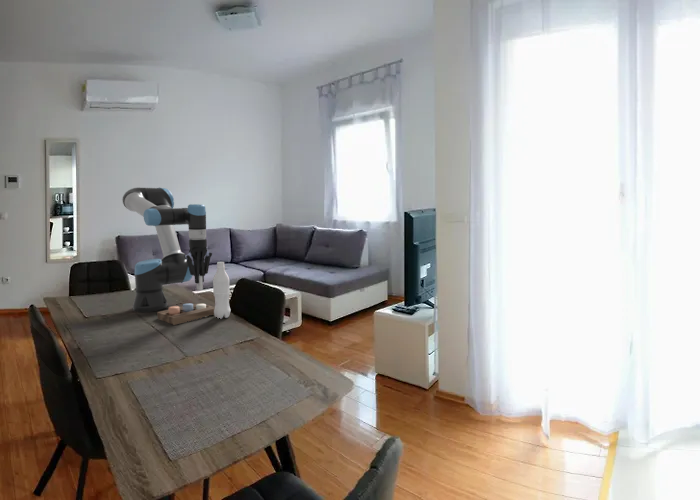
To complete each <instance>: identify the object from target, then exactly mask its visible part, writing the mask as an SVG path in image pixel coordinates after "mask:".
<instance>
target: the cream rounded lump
mask: <svg viewBox="0 0 700 500" xmlns="http://www.w3.org/2000/svg"><path fill="white" fill-rule="evenodd" d="M196 304H197V305H196V309H203V308H206V305H207V304H206V303H202V304H198V303H196Z"/></svg>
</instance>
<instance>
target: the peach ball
mask: <svg viewBox="0 0 700 500" xmlns="http://www.w3.org/2000/svg"><path fill="white" fill-rule="evenodd" d="M179 307H180V306H178V305H173V306H169V307H167V308H168V309H167V310H169V315H171V316H172V315H176V314H180V309H179Z"/></svg>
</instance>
